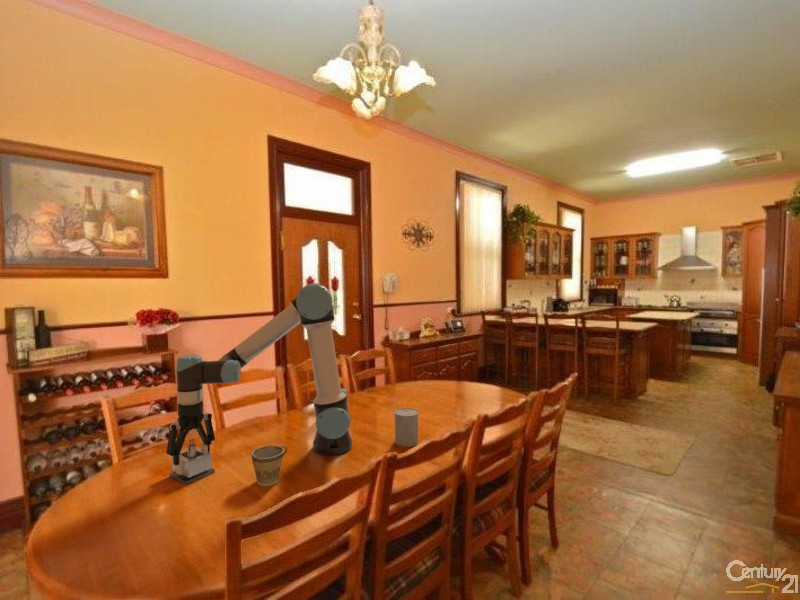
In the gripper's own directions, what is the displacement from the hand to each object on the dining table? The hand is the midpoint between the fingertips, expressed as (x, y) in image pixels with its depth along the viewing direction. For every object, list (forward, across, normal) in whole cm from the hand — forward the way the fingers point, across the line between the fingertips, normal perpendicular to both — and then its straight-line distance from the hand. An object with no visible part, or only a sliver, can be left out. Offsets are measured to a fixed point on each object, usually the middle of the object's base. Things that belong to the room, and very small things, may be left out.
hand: (192, 468), depth 135 cm
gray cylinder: (+3, -62, +46) cm, 78 cm away
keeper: (+2, 0, 0) cm, 2 cm away
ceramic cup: (+2, -12, +25) cm, 28 cm away
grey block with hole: (0, 0, 0) cm, 0 cm away
